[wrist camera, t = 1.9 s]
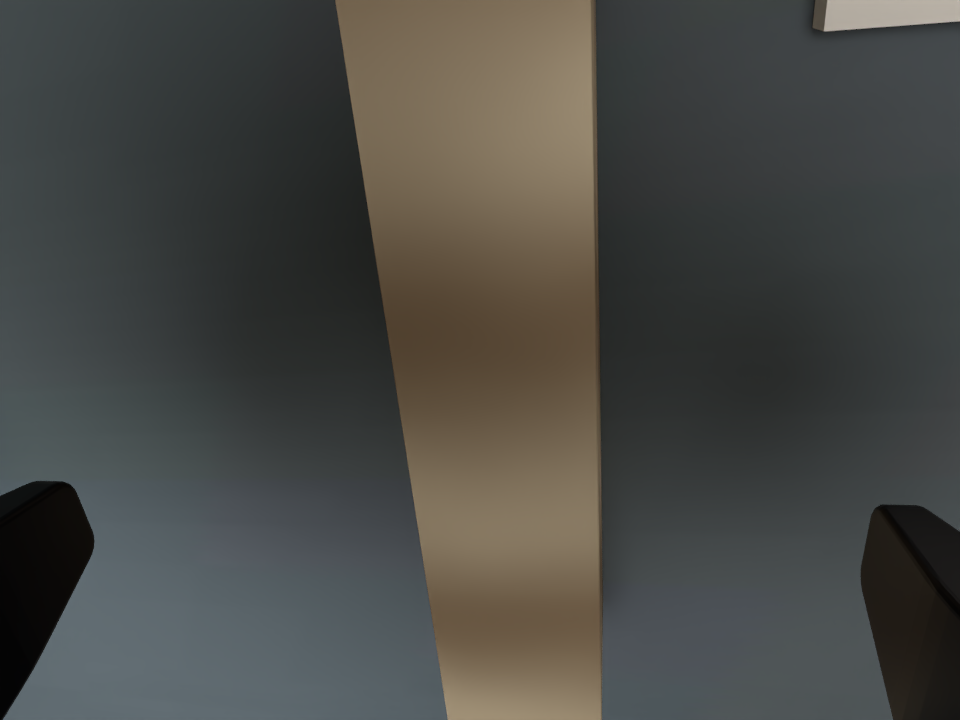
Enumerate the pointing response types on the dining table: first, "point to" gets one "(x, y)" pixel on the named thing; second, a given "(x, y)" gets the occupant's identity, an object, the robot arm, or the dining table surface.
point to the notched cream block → (882, 13)
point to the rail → (493, 329)
